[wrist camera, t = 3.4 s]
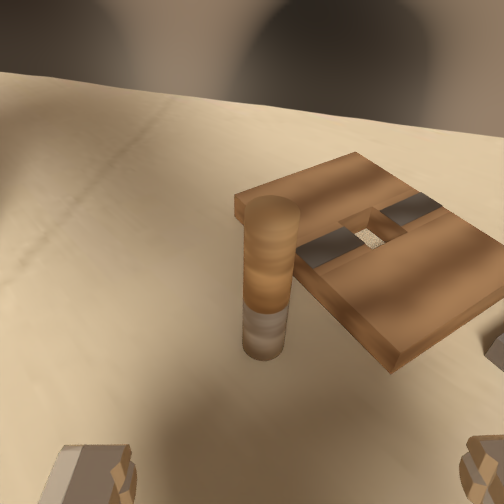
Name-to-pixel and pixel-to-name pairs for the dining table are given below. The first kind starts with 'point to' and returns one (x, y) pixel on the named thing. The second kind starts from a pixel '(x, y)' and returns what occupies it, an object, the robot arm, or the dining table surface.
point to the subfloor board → (386, 257)
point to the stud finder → (497, 352)
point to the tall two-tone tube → (268, 273)
